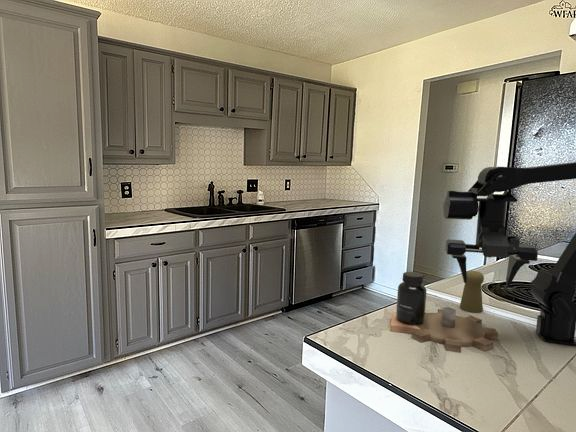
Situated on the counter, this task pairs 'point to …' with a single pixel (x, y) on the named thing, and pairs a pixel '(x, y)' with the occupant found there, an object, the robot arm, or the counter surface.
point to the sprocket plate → (449, 330)
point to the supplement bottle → (411, 299)
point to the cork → (472, 293)
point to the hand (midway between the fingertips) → (485, 284)
